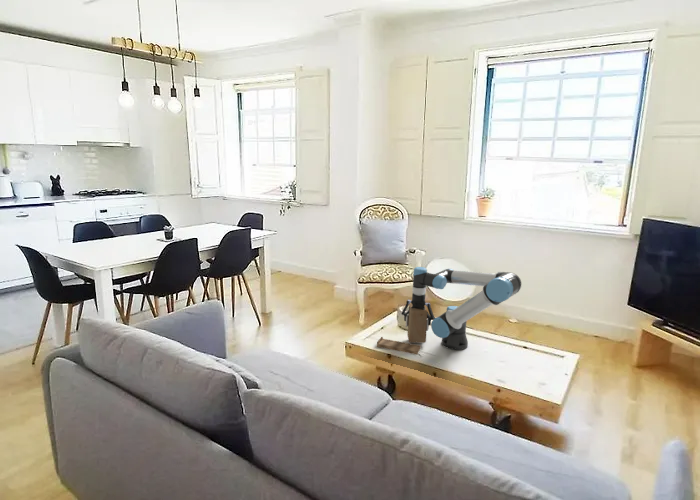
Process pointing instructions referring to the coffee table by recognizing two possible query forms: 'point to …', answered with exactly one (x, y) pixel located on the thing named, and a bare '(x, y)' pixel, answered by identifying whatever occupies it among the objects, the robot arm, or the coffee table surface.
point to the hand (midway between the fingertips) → (417, 328)
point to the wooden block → (417, 325)
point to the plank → (398, 346)
